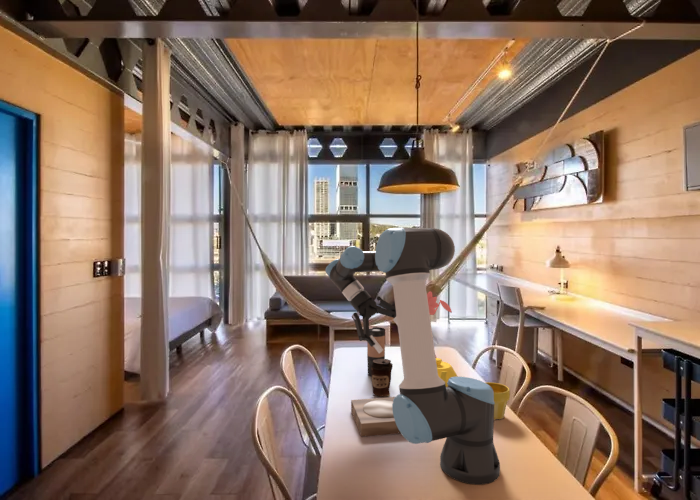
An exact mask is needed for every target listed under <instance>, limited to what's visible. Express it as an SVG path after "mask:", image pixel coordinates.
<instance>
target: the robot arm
mask: <svg viewBox="0 0 700 500" xmlns="http://www.w3.org/2000/svg"><path fill="white" fill-rule="evenodd" d="M378 237H379V238H378V240H377V243H376V247H375V251H374V250H373V251H363V250H362V249H361V248H360V247H357V246H355V245H351V246H348V247H346V248H345V250H344V251H343V252H342V253H341V255H340V257H339V258H336V259H334V260H332V261H331V262H330V263H329V264H328V265H327V266H326V267H325V273H326V274H327V276H328V277H329V280H331V282H332V283H333V284H334V286H335V287H337V289H338V290H339V291H340V292H341V294H342V295H343V296H344V297H345V298H346V300H347V301H348V302H349V304H350V305H351V306H352V307H353V309H354V310H355V311H356V312H353V313H352V314H351V318H352V320H353V322H354V326H355V328H356V333H357V337H358V340H359V341H360V342H361V341H366V342H368V343H369V344H370V346H371V347H372V346H373V347H374V348H375V349H376V350H377V352H378V353H379V354H380V353H381V352H382V351H383V348H382V347H381V346H380V345H379V343H378V342H377V341H376V340H375V338H374V337H373V336H372V335H371V336H369V329H370V318H371V317H373V316H374V315H376V314H380V315H384V316H385V317H386V316H387V317H390V318H393V319H392V321H393V322H394V323H395V324H396V326H397V332H398V338H399V339H398V340H399V349H400V357H401V365H402V373H403V380H402V382H401V383H400V384H399V385H398V389H399V394H397V395H396V396H394V397H395V398H394V400H393V404H392V410H393V416H394V419H395V422H396V425H397V427H398V429H399V431H400V432H401V433H400V434H401V436H402V437H403V438H404V439H405V440H406V441H407V442H409V443H411V444H413V445H414V444H415V445H418V444H429V443H431V442H434V441H437V440H438V441H439V440H442V439H445V441H444V444H443V447H442V449H441V452H440V456H439V457H440V459H439V461H440V463H439V465H440V468H441V470H442V471H443V472H444V474H446V475H447V476H449V477H450V478H451V479H453V480H455V481H458V482H461V483H464V484H469V485H487V484H490V483H493V482H495V481H496V480H498V479H499V477H500V475H501V464H500V459H499V456H498V453H497V450H496V447H495V443H494V425H495V424H494V423H495V420H494V404H495V402H494V392H493V389H492V388H491V386H489V385H488V384H486V383H485V382H484V381H482V380H480V379H477V378H474V377H473V378H472V377H466V376H458V377H451V378H449V380H448V382H447V384H448V387H446V385H445V381H443V380H442V379H441V378H440V377H439V376H438V372H437V365H436V358H437V356H436V357H435V355H436V352H435V344H434V336H433V328H432V321H431V315H430V314H429V306H428V299H427V294H428V292H427V286H426V285H427V284H426V281H427V280H428V278H429V277H430V276H431V273H430V271H432V270H433V271H435V270H439V269H442V268H444V267H446V266H448V265H449V264H450V263H451V261H452V260H453V258H454V256H455V252H456V251H455V250H456V249H455V248H456V246H455V243H454V240H453V238H452V237H451V236H450V235H449V234H448V233H447V232H446V231H445V230H442V229H439V228H435V227H427V228H426V227H404V226H403V227H401V226H400V227H393V228H392V227H391V228H387V229H385V230H384V231H383V232H382V233H381V234H380V236H378ZM370 272H371V273H372V272H373V273H374V272H375V273H376V272H378V273H379V272H382V273H385V280H386V281H387V282H388V283H389V284H391V286H392V290H393V297H394V298H393V299H394V305H393V304H391V303H389V302H388V301H386V300H384V299H383V298H382V297H381V296H379V295H378V296H376V298H375V299H373V298H372V296H371V294H369V292H368V291H367V290H366V289H365V288H364V286H363V285H362V284H361V282H360V281H359V280H358V279H357V278H356V277H355V274H356V273H370ZM360 316H361V317H362V321H361V318H360Z"/></svg>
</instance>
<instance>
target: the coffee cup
mask: <svg viewBox="0 0 700 500" xmlns="http://www.w3.org/2000/svg"><path fill="white" fill-rule="evenodd" d="M392 369H393V363H392V360H391V359H388V358H385V359H377V360H373V363H372V364H371V374H372V377H371V387H372V394H373V396H376V397H378V398H386V397H389V396H390V394H391V393H390V387H391V381H392Z"/></svg>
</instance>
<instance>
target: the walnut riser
mask: <svg viewBox="0 0 700 500" xmlns="http://www.w3.org/2000/svg"><path fill="white" fill-rule="evenodd" d="M395 397H396V396H391V397H389V396H388V397H378V398H361V399H351V400H350V412H351V416H352V417H353V420H354V422H355V424H356V427H357V429H358V432H359V434H360V437H361V438H362V437H373V436H374V437H375V436H383V435H385V436H386V435H395V434H401V432H400V431H399V429H398V427H397V425H396V422H395V419H394V416H393V410H392V404H393V400H394V398H395Z"/></svg>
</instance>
